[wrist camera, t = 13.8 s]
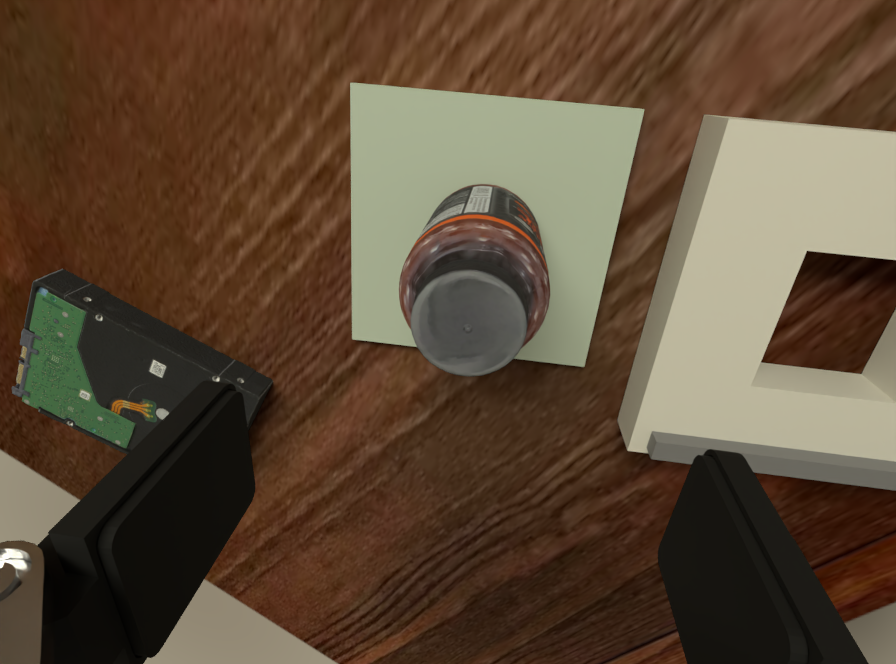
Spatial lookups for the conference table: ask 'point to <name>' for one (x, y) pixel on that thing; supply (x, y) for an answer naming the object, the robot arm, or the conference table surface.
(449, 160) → the sage mat
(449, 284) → the supplement bottle
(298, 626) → the conference table surface
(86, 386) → the disk drive
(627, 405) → the dispenser block
